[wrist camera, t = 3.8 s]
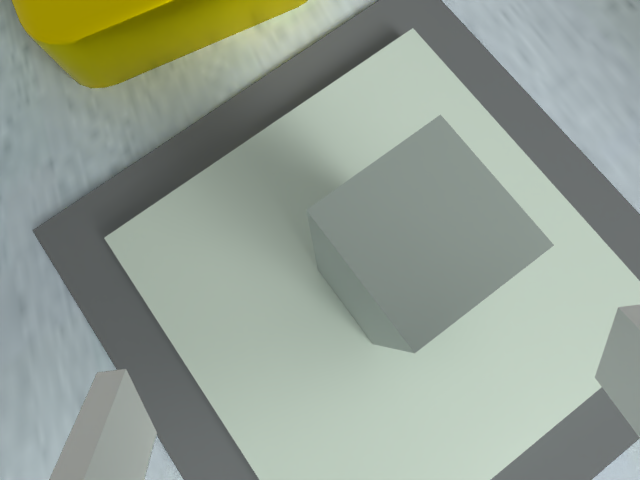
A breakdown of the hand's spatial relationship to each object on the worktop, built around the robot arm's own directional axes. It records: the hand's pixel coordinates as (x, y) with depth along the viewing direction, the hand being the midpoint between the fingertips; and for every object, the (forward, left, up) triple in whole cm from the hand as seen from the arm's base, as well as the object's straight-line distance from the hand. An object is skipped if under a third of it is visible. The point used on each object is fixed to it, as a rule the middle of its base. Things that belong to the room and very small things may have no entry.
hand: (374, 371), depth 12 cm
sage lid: (-3, -2, -8) cm, 9 cm away
